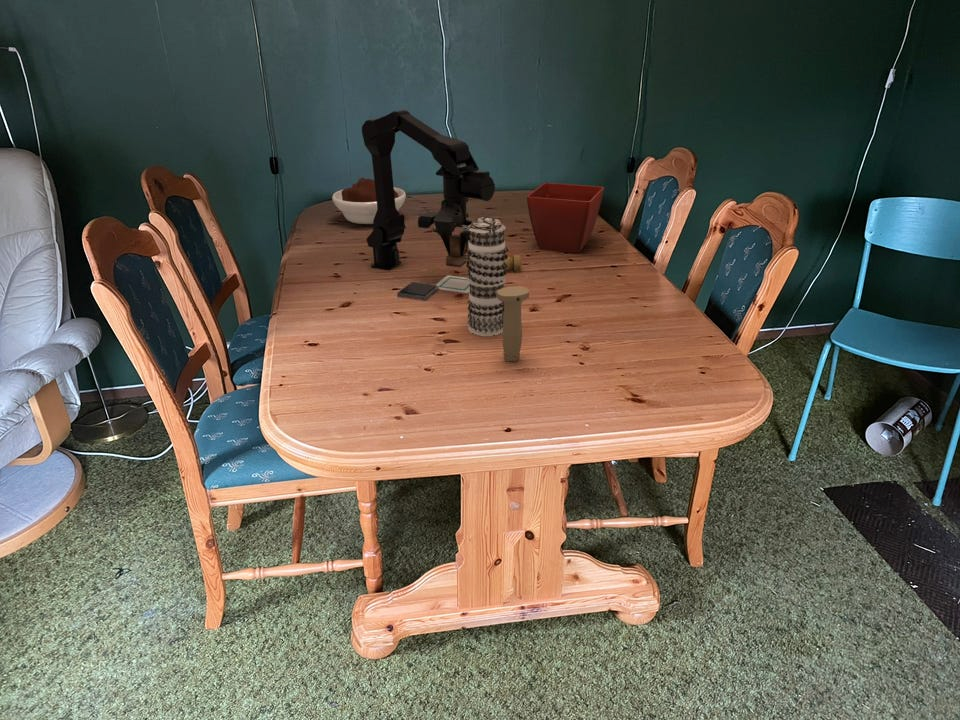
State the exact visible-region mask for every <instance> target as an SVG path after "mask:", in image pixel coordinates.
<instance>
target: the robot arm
mask: <svg viewBox="0 0 960 720" xmlns="http://www.w3.org/2000/svg"><path fill="white" fill-rule="evenodd" d="M399 132H401V133H403V134H405V136H407V137H409V138H410V139H411V140H413V141H414V142H416V143H418V145H420V146H422V147H424V148H425V149H426V150H428V151H429V152H430V153H431V155H432V157H433V159H434V160H435V162H436V163H438V165H440V168H439V169H438V170H437V171H436V172H435V175H436V176H439V177H442V190H443V192H442V193H443V195H442V196H443V199H442V200H441V203H440V209H439V211H437V212H433V211H426V212H425V213H423V214H421V215H419V217H418V219H417V226H418V228H423V229H430V228H431V227H432V226H433V225H434V226H433V229H432V231H433V232H434V233H436V234H437V235H439V237H440V238H441V240H442V242H443V245H444V247H445V249H446V253H447V254H448V255H450V236H451V235H453V232H454V231H455V229H456V228H462V231H461V232H459V235H460V236H461V256H462V257H463V256H464V254H466V251H465V246H466V245H468V241H469V230H468V229H467V227H468V226H469V225H471V223H472V222H473V221H474V220H471V219H468V218H469V213H467V212H468V211H467V210H468V209H467V205H468V204H467V203H469V199H472V200H477V201H481V202H489V201H490V200H491V199H492V198H493V196H494V194H495V191H496V190H495V189H496V185H495V182H494V179H493V178H492V177H491V176H490V173H491V172H490V171H487V170H483V171H481V170H480V168H479V166H478V164H477V162H476V161H475V159H474V157H473V155H472V153H471V151H470V149H469V147H470V146H469V145H468V144H467V143H466V142H465V141H463V140H460V139H458V138H455V137H452V136H447V135H443V134H441V133H440V132H438V131H436V130H435V129H433V128H432V127H430V126H429V125H427V124H425V123H424V122H422V121H421V120H419V119H418V118H417V117H415V116H414V115H412V114H411V113H410V111H408V110H405V109H401V110H396V111H391V112H390V113H389V114H386V115H384V116H380V117H379V118H373V119H367V120H365V121H364V123H362V126H361V135H362V138H363V143H364V146H365V148H366V149H367V150H368V152H369V154H370V155H371V162H372V170H373V180H374V181H375V191H376V200H377V212H376V215H375V217H374V220H373V224H372V232H371V233H370V234H369V235H368V236H367V238H366V239H365V240H366V243H367V246H368V247H369V248H372V255H373V263H372V264H371V268H377V269H385V270H392V269H394V268H395V267H397V266H398V265H400V264H401V263H402V261H401V260H400V250H399V249H398V243H401V242H402V238H403V235H404V234H405V229H407V227H406V225H405V215H404V214H403V213H401V214H400V212H399V210H398V211H397V209H396V206H395V196H394V187H395V186H394V177H393V166H392V165H393V164H392V157H391V156H392V155H391V153H392V150H393V148H394V145H395V143H396V134H397V133H399ZM478 218H483V217H481V216H478V217H477V218H475V219H478ZM448 255H447V256H448Z"/></svg>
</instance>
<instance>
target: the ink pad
mask: <svg viewBox="0 0 960 720" xmlns="http://www.w3.org/2000/svg"><path fill="white" fill-rule="evenodd" d="M438 291H439V286H436V284H428V283H421V282H416V281H411V282H409V283H408V284H407V285H406V286H405V287H403V288H402V289H400V290H399V291H398V292H397V293H396V294H397V295H396V296H397V298H406V299H410V300H411V299H412V300H419V301H425V302H426V301H428V300H429V299H430V298H431V297H432V296H434V295H435V293H437V292H438Z"/></svg>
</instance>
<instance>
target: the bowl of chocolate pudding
mask: <svg viewBox="0 0 960 720" xmlns="http://www.w3.org/2000/svg"><path fill="white" fill-rule="evenodd" d="M406 194H407V193H406V192H405V190H403V189H402V188H398V187H395V186H394V196H395V206H396V209H397V211H398V212H399V210H400V208H401V207H402V206H403V204H404V203H405V201H406V197H407V196H406ZM331 199H332V202H333V204H334V206H335V207H337V209H338V210H339V211H341V213H342V214H343V216H344V218H345V220H347V221H348V222H351V223H353V224H359V225H373V220H374V217H375V215H376V212H377V200H376V191H375V181H374V179H371V178H365V177H360V178H358V180H357V182H356V183H353V184H352V185H351V187H347V188H344V189H340V190H338V191H336V192H334V193H333V194H332V197H331Z"/></svg>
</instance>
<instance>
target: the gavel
mask: <svg viewBox="0 0 960 720" xmlns="http://www.w3.org/2000/svg"><path fill="white" fill-rule="evenodd" d="M503 262H505V263H506V264H507V267H506V268H505V269H504V270H506V271H507V272H510V271H512V272H513V273H515V272H516V273H518V272H521V271H522V270H521V269H522V258H521V255H519V254H517V255H516V254H515V255H514V254H513V255H512V256H508V258H507V259H505V260H503Z"/></svg>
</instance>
